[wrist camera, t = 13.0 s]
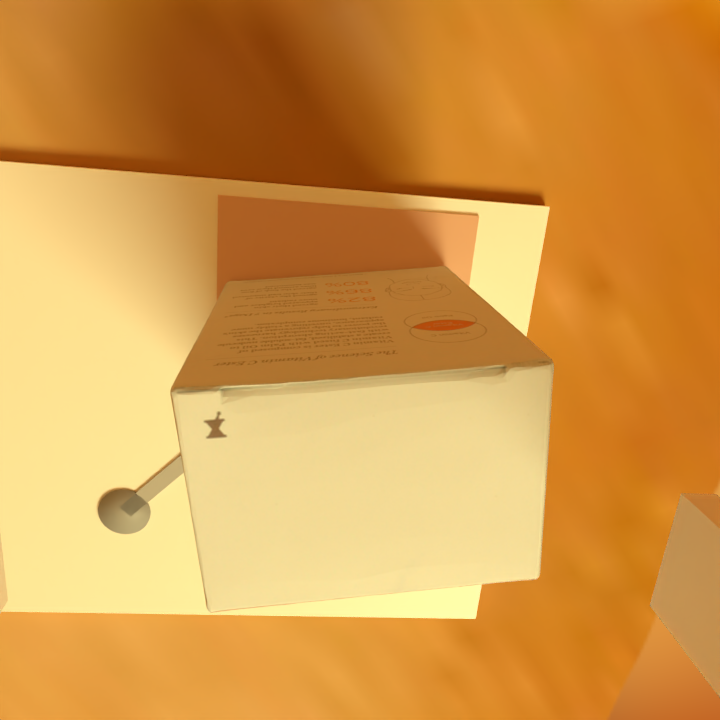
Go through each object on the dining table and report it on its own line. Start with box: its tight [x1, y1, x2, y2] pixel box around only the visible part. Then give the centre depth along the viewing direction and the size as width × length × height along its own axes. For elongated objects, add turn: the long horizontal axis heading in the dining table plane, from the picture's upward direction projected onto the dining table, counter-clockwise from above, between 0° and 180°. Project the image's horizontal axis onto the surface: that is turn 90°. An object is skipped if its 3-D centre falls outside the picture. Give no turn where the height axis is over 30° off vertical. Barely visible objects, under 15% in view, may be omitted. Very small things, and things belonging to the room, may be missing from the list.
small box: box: [170, 266, 554, 613], centre depth 18 cm, size 8×6×10 cm
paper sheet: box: [0, 160, 550, 619], centre depth 24 cm, size 22×18×1 cm
